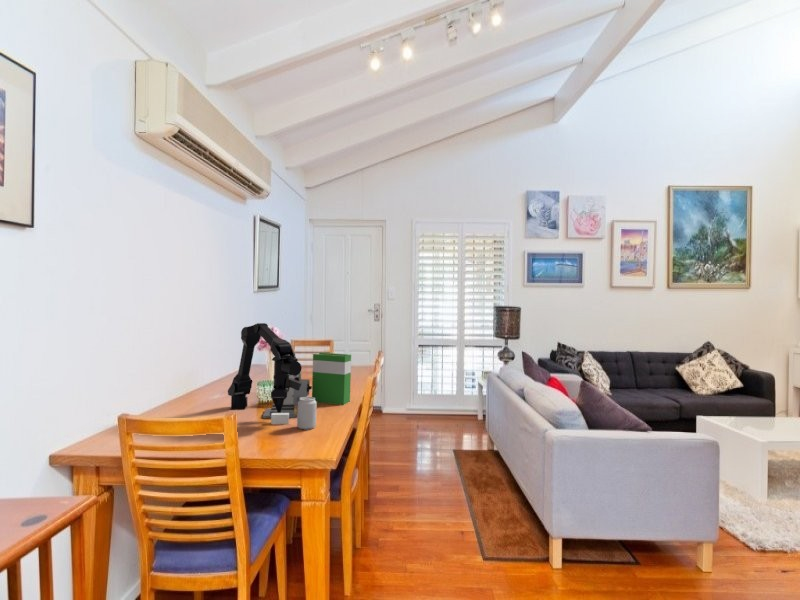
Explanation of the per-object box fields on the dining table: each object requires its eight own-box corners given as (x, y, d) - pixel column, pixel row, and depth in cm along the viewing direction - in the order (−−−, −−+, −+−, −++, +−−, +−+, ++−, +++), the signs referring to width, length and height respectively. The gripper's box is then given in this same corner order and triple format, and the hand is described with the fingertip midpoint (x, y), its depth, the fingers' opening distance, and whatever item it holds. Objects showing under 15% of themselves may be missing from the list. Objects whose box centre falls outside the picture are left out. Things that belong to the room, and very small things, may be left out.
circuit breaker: (309, 405, 219) (309, 374, 219) (279, 404, 219) (280, 373, 219) (312, 401, 226) (313, 372, 226) (284, 400, 227) (284, 371, 227)
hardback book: (311, 401, 227) (313, 354, 227) (318, 398, 234) (320, 352, 234) (343, 404, 221) (345, 356, 221) (349, 401, 229) (351, 354, 228)
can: (299, 431, 176) (300, 400, 176) (294, 426, 183) (295, 396, 183) (318, 429, 180) (319, 399, 180) (312, 424, 186) (313, 395, 186)
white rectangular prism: (270, 424, 185) (271, 415, 185) (271, 422, 188) (271, 413, 188) (288, 424, 186) (288, 414, 186) (288, 422, 189) (289, 412, 189)
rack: (262, 418, 193) (262, 411, 193) (265, 410, 206) (266, 404, 206) (300, 417, 196) (300, 410, 196) (301, 410, 209) (301, 403, 209)
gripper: (300, 376, 179) (299, 415, 179) (301, 368, 197) (300, 404, 198) (271, 376, 177) (270, 415, 177) (275, 368, 195) (274, 404, 196)
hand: (280, 409), depth 187 cm, fingers open, 9 cm apart
